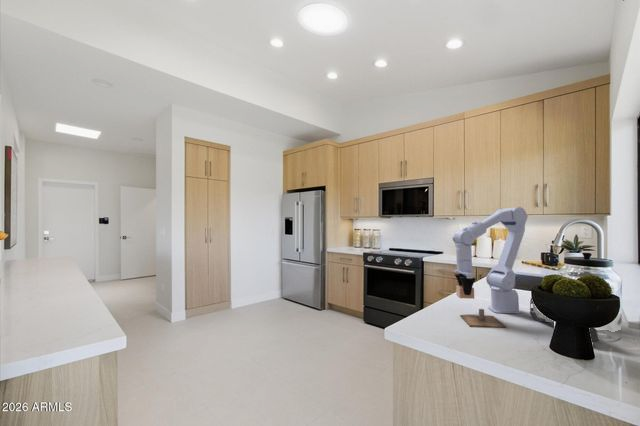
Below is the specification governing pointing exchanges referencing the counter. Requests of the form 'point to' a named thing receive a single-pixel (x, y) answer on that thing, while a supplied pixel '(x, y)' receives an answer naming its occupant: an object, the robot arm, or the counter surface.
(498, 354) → the counter surface
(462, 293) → the ring
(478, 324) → the peg stand
